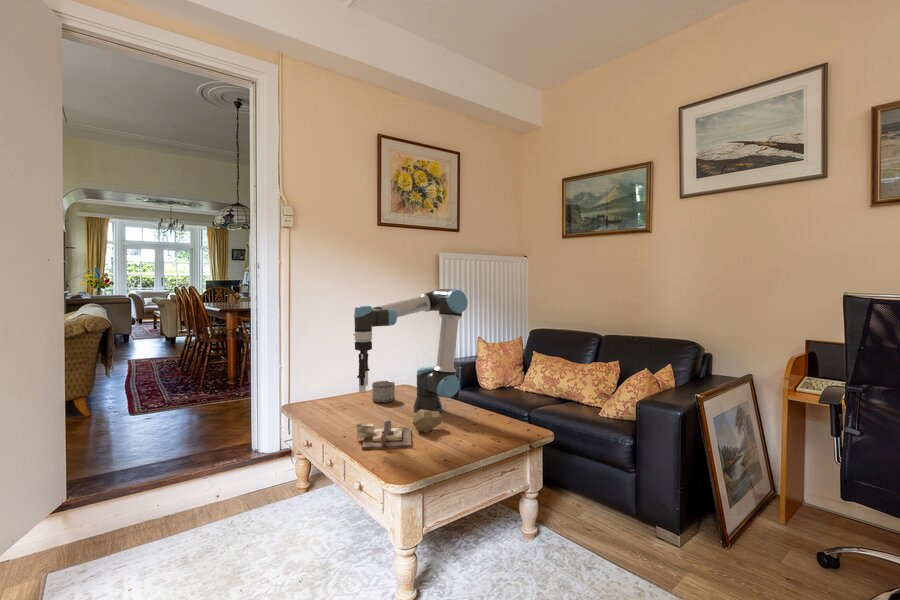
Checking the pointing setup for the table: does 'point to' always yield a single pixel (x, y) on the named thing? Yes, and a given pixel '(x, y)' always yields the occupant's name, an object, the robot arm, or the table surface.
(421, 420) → the low-poly potato
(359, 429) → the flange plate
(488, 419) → the table surface
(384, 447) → the post board
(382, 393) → the planter
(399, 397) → the table surface
